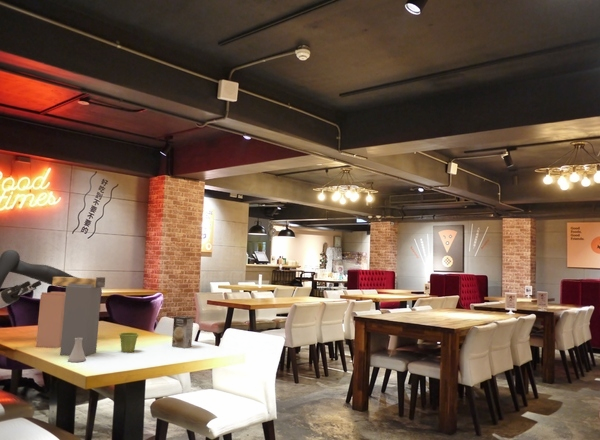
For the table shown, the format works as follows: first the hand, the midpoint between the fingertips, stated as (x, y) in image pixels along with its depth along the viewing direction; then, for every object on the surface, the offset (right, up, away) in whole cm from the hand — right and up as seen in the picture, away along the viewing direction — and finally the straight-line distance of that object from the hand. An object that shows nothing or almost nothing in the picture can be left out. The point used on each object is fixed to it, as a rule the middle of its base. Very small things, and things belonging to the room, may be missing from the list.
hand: (35, 282), depth 239 cm
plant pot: (+43, -36, +6) cm, 56 cm away
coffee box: (+66, -38, +26) cm, 80 cm away
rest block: (+2, -34, +13) cm, 37 cm away
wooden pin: (+22, -2, -2) cm, 22 cm away
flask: (+30, -32, -21) cm, 49 cm away
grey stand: (+24, -33, -5) cm, 41 cm away
